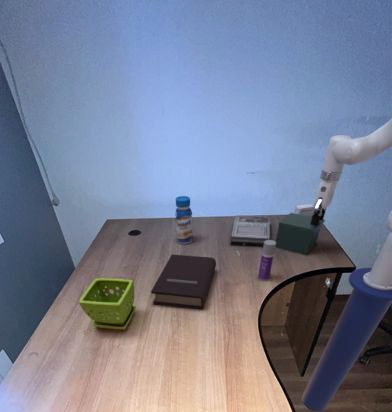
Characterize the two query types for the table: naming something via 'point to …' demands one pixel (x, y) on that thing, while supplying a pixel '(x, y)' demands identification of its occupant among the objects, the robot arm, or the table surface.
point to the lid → (301, 222)
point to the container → (267, 259)
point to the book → (184, 282)
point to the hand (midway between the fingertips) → (316, 221)
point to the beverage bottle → (184, 220)
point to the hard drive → (250, 231)
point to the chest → (296, 239)
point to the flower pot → (109, 303)
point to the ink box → (305, 210)
